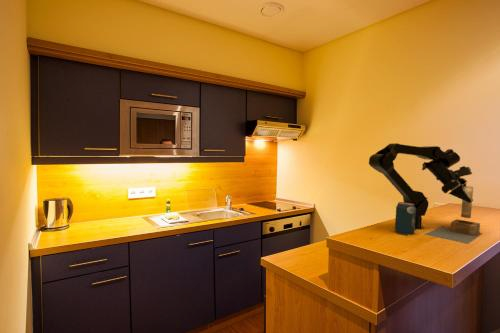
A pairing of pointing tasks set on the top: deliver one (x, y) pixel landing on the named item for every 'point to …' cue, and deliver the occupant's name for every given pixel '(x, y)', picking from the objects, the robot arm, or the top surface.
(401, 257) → the top surface
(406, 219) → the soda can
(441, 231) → the mat
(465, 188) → the peg
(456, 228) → the hole block
